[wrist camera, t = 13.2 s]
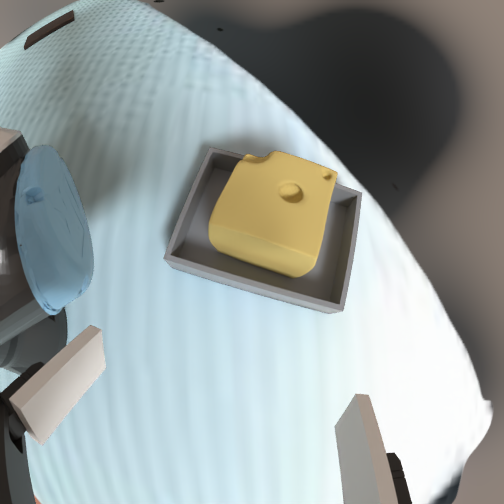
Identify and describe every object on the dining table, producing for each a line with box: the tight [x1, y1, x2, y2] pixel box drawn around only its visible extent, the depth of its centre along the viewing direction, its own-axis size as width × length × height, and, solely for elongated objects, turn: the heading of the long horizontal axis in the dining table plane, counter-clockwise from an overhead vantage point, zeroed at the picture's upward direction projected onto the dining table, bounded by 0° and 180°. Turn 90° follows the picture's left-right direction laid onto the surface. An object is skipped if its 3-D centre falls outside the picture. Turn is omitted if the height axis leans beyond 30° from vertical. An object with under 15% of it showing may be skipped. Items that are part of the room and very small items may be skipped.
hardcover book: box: [24, 10, 74, 50], centre depth 53 cm, size 16×23×2 cm
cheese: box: [208, 151, 337, 278], centre depth 29 cm, size 10×11×10 cm
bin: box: [163, 147, 362, 314], centre depth 32 cm, size 20×15×4 cm
